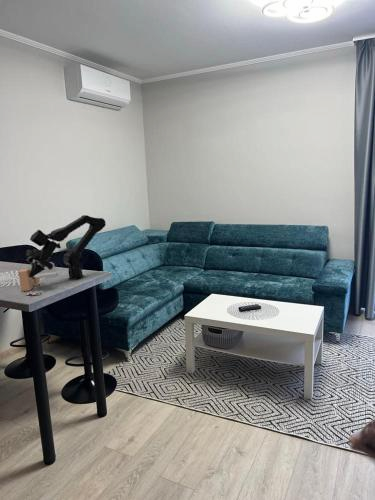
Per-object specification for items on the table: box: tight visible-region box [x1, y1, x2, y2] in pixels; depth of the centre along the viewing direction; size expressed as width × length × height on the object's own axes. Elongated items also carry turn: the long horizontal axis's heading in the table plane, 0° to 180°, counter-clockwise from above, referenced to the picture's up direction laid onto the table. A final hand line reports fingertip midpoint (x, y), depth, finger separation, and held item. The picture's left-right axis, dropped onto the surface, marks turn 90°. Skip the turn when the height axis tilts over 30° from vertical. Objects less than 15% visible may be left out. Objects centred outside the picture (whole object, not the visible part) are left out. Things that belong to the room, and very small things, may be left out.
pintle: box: [32, 277, 41, 287], centre depth 195 cm, size 6×6×4 cm
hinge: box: [25, 261, 58, 280], centre depth 210 cm, size 17×5×10 cm, turn 112°
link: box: [18, 268, 41, 292], centre depth 190 cm, size 14×5×10 cm, turn 2°
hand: (30, 277), depth 185 cm, fingers closed
